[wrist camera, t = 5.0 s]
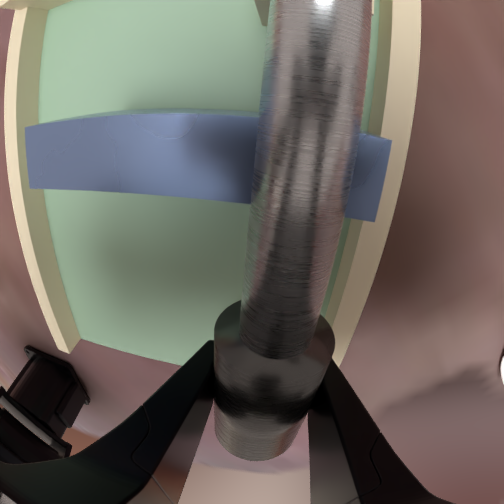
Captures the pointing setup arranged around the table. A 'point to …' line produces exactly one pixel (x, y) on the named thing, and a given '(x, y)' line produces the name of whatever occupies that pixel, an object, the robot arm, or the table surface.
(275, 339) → the rod
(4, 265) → the table surface
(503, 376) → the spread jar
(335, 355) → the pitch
